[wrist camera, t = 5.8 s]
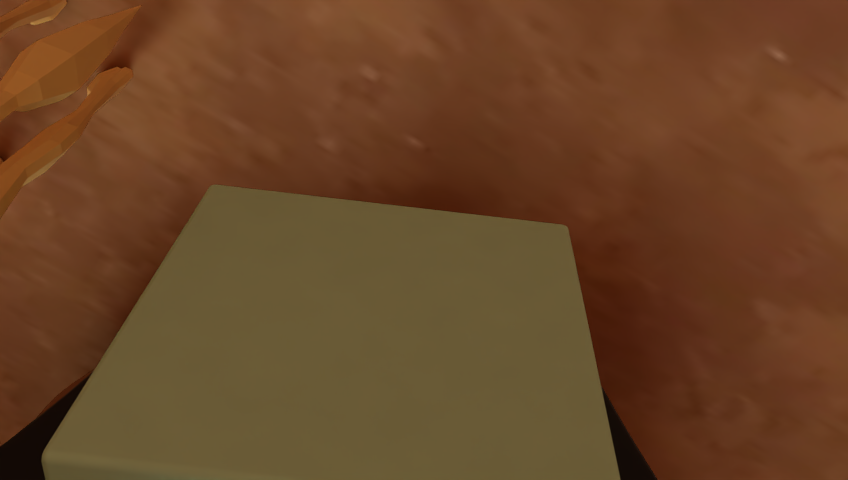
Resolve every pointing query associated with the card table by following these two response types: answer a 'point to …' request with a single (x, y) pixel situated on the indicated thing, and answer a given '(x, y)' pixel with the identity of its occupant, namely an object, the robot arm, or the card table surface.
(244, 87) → the card table surface
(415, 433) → the felt cube
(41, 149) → the giraffe
